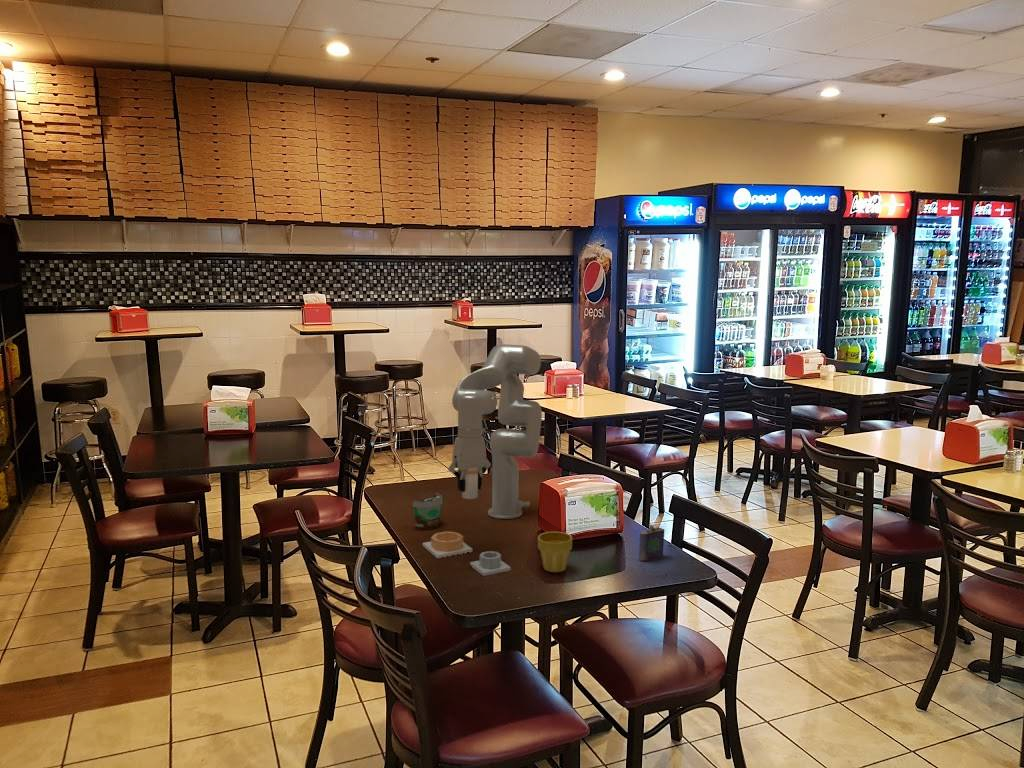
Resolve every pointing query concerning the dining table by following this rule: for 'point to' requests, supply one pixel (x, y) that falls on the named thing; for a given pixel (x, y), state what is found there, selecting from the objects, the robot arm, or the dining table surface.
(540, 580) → the dining table surface
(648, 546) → the flask
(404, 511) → the dining table surface
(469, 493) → the beige peg
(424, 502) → the food container
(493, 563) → the narrow socket
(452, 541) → the wide socket
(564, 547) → the plant pot
